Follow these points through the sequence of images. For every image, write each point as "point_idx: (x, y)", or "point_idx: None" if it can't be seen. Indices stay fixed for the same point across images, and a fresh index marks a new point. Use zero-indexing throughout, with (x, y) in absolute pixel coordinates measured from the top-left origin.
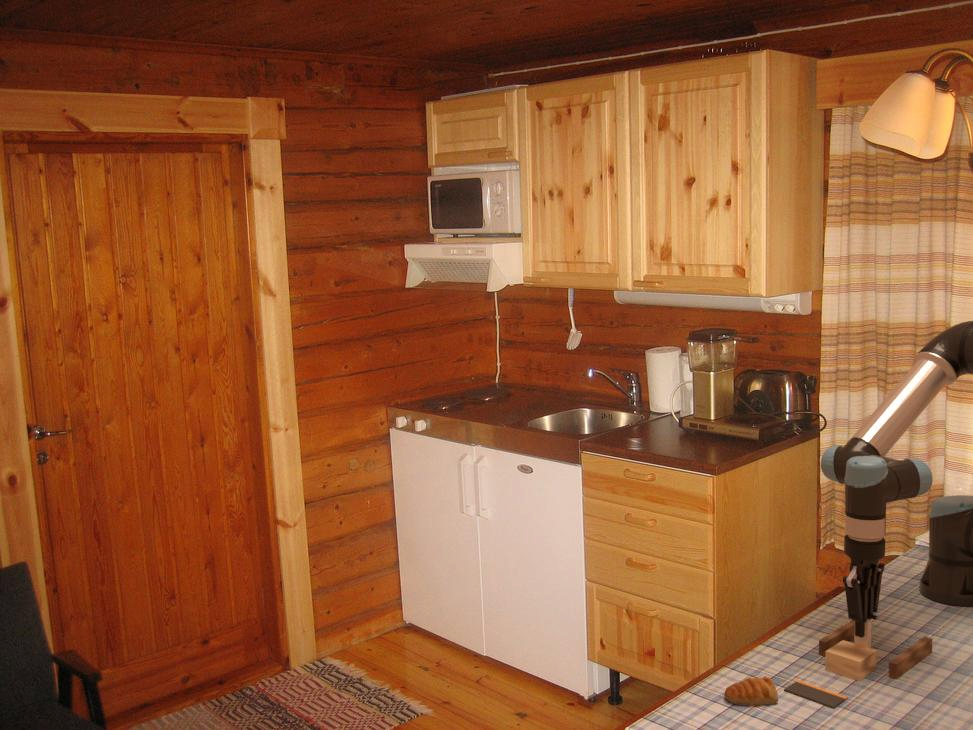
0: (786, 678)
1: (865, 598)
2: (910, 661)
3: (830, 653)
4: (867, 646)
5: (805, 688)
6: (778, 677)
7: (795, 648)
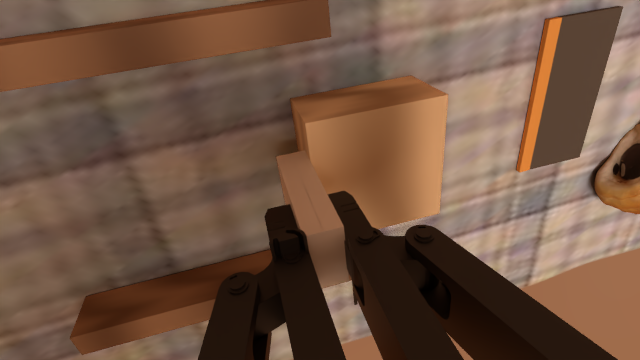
0: (512, 195)
1: (446, 347)
2: (176, 16)
3: (438, 196)
4: (309, 163)
5: (552, 130)
6: (517, 208)
7: (351, 294)
